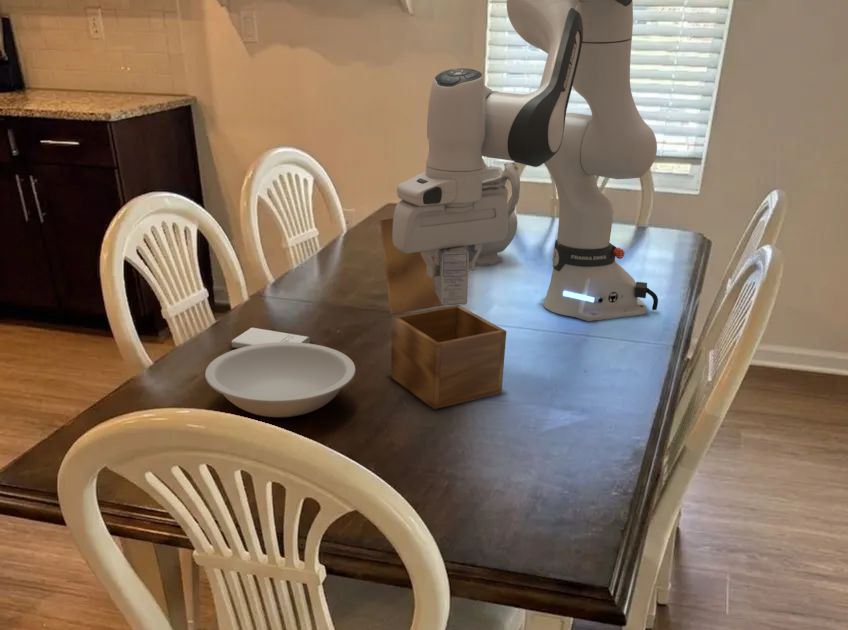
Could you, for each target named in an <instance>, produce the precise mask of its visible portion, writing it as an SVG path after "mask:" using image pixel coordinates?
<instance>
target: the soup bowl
mask: <svg viewBox="0 0 848 630" xmlns="http://www.w3.org/2000/svg"><path fill="white" fill-rule="evenodd" d="M204 372H205V373H204V377H205V381H206V382H207V384H208V385H209V386H210V387H211V388H212V389H213V390H214V391H216V392H217V393H219V394H221V395H223V396H224V397H225V398H226V400H228V401H229V402H230V403H231V404H233V405H234V406H236V407H237V408H239V409H240V410H243V411H245V412H247V413H250V414H253V415H256V416H261V417H266V418H267V417H268V418H290V417H291V418H292V417H297V416H302V415H306V414H309V413H313V412H314V411H316V410H318V409H320V408H322V407H324V406H326V405H327V404H328V403H330V402H332V400H333V399H334V398H336V396H338V394H339V393H340V391H341V390H342V389H343V388H345V387H346V386H348V385H349V384H350V383H351V382H352V381H353V379H354V377H355V375H356V365H355V362H354V361H353V360H352V359H351V358H350V357H349V356H348V355H346V354H344V353H343V352H341V351H339V350H337V349H334V348H331V347H328V346H324V345H319V344H314V343H309V344H308V343H298V342H275V343H264V344H257V345H251V346H246V347H242V348H239V349H238V348H234V349H232V350H230V351H227V352H225V353H223V354H221V355H219V356H218V357H216V358H214V359H213V360H212V361H211V362H210V363H209V364H208V365H207V366H206V369H205V371H204Z"/></svg>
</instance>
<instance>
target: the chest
mask: <svg viewBox="0 0 848 630" xmlns="http://www.w3.org/2000/svg"><path fill="white" fill-rule="evenodd" d="M390 333H391V338H390V340H391V348H390V349H391V350H390V354H391V355H390V359H391V360H390V368H391V369H390V372H391V373H390V374H391V375H390V377H391V379H392V380H394V381H395V382H397V383H398V384H399V385H400V386H402V387H403V388H405V389H406V390H408V391H409V392H410V393H412V394H413V396H415V397H417V398H418V399H419V400H421V401H422V402H424V403H425V404H426V405H428V406H429V407H430V408H432V409H433V410H437V409H441V408H445V407H450V406H455V405H457V404H462V403H466V402H469V401H475V400H479V399H483V398H487V397H492V396H496V395H500V394H502V392H503V380H504V379H503V378H504V369H505V368H504V367H505V357H506V356H505V355H506V342H507V330H505V329H503V328H502V327H500V326H498V325H496V324H494V323H493V322H491V321H489V320H487V319H486V318H483V317H482V316H480V315H478V314H476V313H474V312H472V311H470V310H469V309H467V308H465V307H463V306H462V305H461V304H458V305H448V306H444V307H438V308H433V309H428V310H427V309H426V310H421V311H416V312H412V313H410V312H409V313H405V314H399V315H393V316H391V332H390Z"/></svg>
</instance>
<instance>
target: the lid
mask: <svg viewBox="0 0 848 630" xmlns="http://www.w3.org/2000/svg"><path fill="white" fill-rule="evenodd" d="M393 218H394V217H389V218H388V217H387V218H380V219H379V225H380V233H381V243H382V250H383V251H382V252H383V259H384V268H385V277H386V287H387V297H388V305H389V313H390V315H396V314H401V313H407V312H413V311H418V310H423V309H429V308H435V307H441V306H443V305H442V304H441V302H440V300H439V298H438V297H437V295H436V293H435V291H434V277H429V276H427V273H426V271H427V264H426V263H425V261H424V260H423V258H422V256H421V252H417V253H410V254H406V253H403V252H401V251H399V250H398V249H396V247H395V246H394V244H393V240H392V232H393ZM431 257H432V256H431ZM432 259H433V261H434V257H432Z"/></svg>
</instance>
